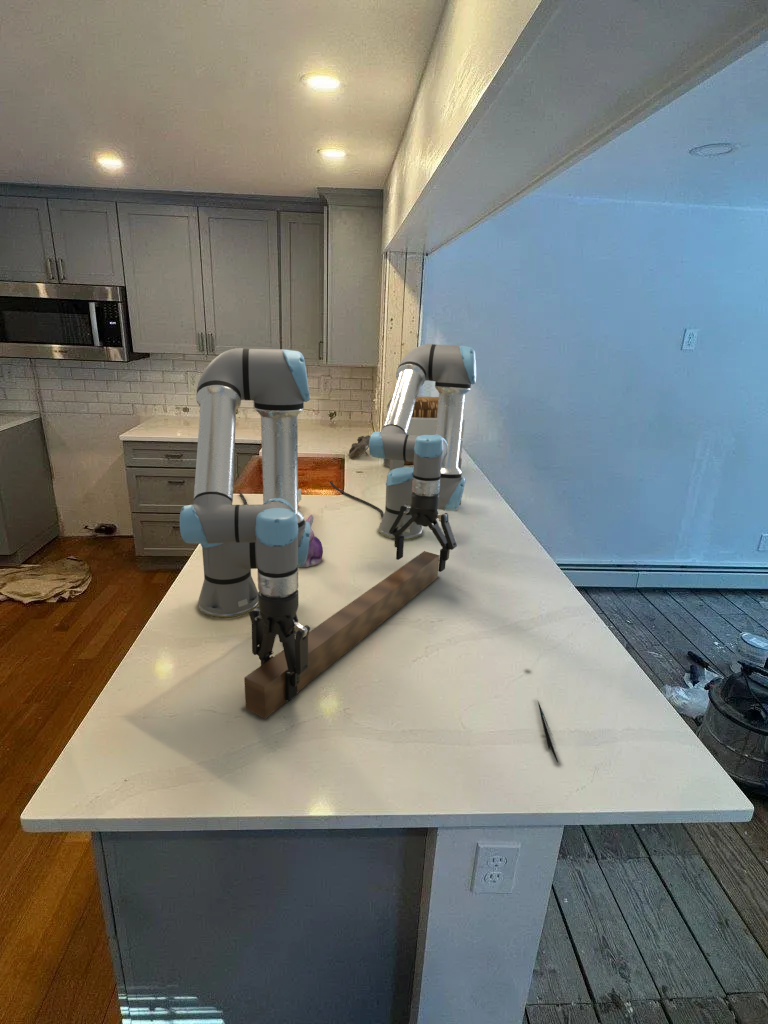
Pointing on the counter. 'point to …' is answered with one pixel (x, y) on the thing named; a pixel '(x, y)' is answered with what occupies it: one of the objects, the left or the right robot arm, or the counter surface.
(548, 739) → the feather
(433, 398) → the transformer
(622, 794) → the counter surface
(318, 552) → the figurine
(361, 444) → the fossil
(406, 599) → the bar
